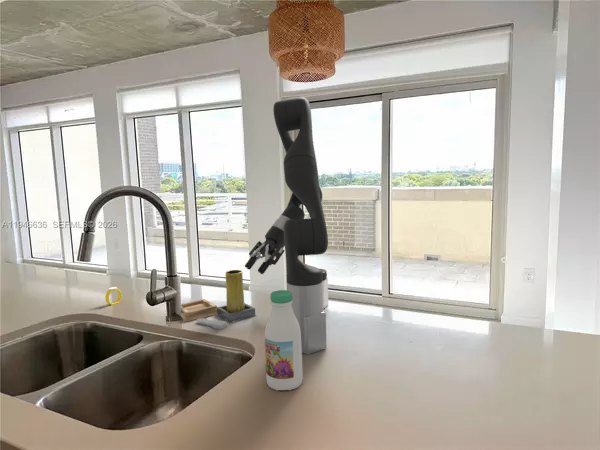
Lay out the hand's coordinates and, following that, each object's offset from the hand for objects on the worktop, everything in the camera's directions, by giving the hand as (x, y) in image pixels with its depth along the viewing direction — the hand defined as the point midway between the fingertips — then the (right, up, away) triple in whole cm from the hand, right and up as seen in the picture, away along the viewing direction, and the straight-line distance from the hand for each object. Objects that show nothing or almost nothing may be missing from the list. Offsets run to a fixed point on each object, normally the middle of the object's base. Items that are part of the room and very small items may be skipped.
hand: (253, 270), depth 134 cm
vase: (-5, -14, -2) cm, 15 cm away
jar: (+21, -13, +5) cm, 25 cm away
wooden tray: (-19, -14, +1) cm, 23 cm away
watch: (-52, -14, +14) cm, 55 cm away
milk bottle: (+12, -19, -46) cm, 51 cm away
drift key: (-12, -15, -10) cm, 22 cm away
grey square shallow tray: (-5, -14, -2) cm, 15 cm away
